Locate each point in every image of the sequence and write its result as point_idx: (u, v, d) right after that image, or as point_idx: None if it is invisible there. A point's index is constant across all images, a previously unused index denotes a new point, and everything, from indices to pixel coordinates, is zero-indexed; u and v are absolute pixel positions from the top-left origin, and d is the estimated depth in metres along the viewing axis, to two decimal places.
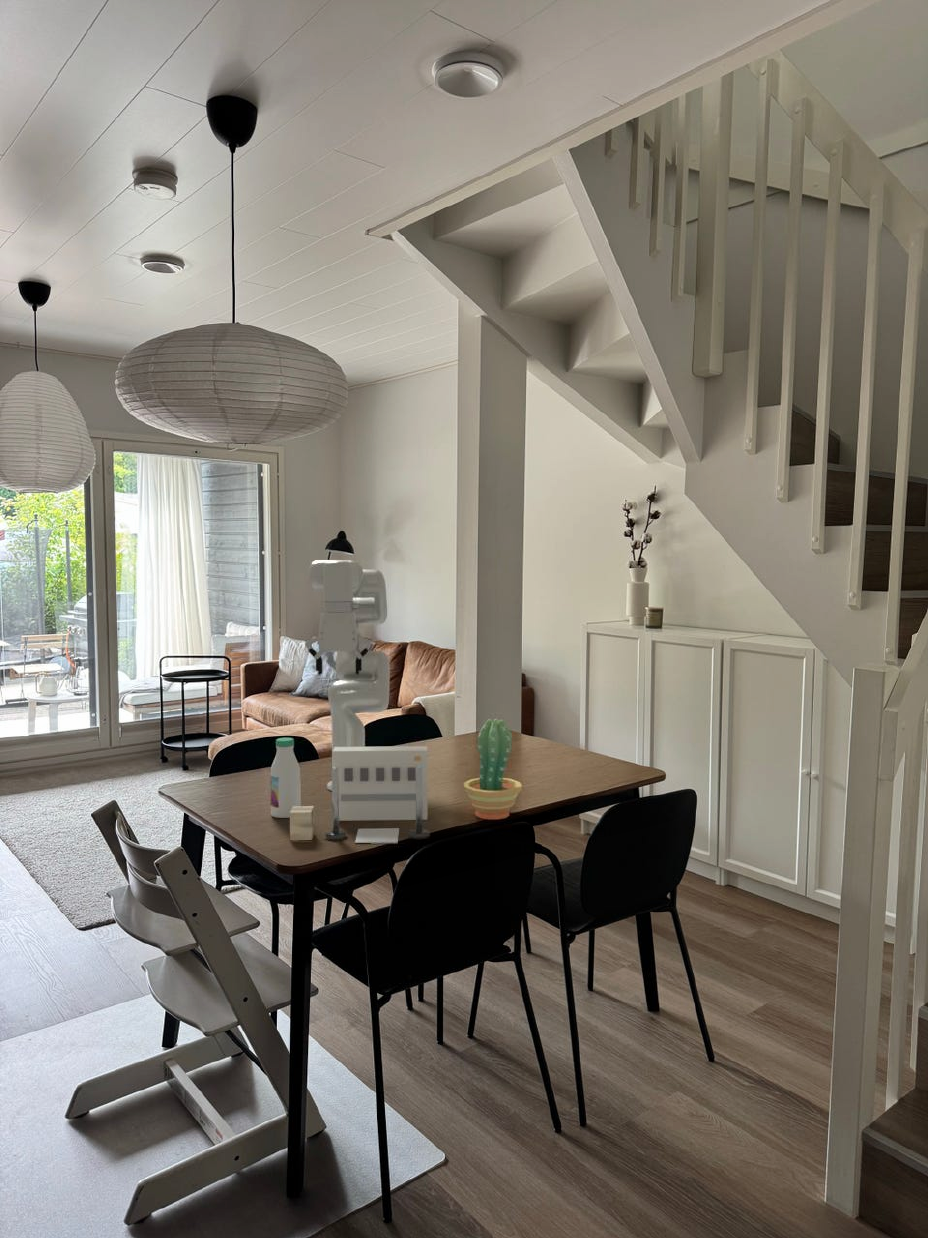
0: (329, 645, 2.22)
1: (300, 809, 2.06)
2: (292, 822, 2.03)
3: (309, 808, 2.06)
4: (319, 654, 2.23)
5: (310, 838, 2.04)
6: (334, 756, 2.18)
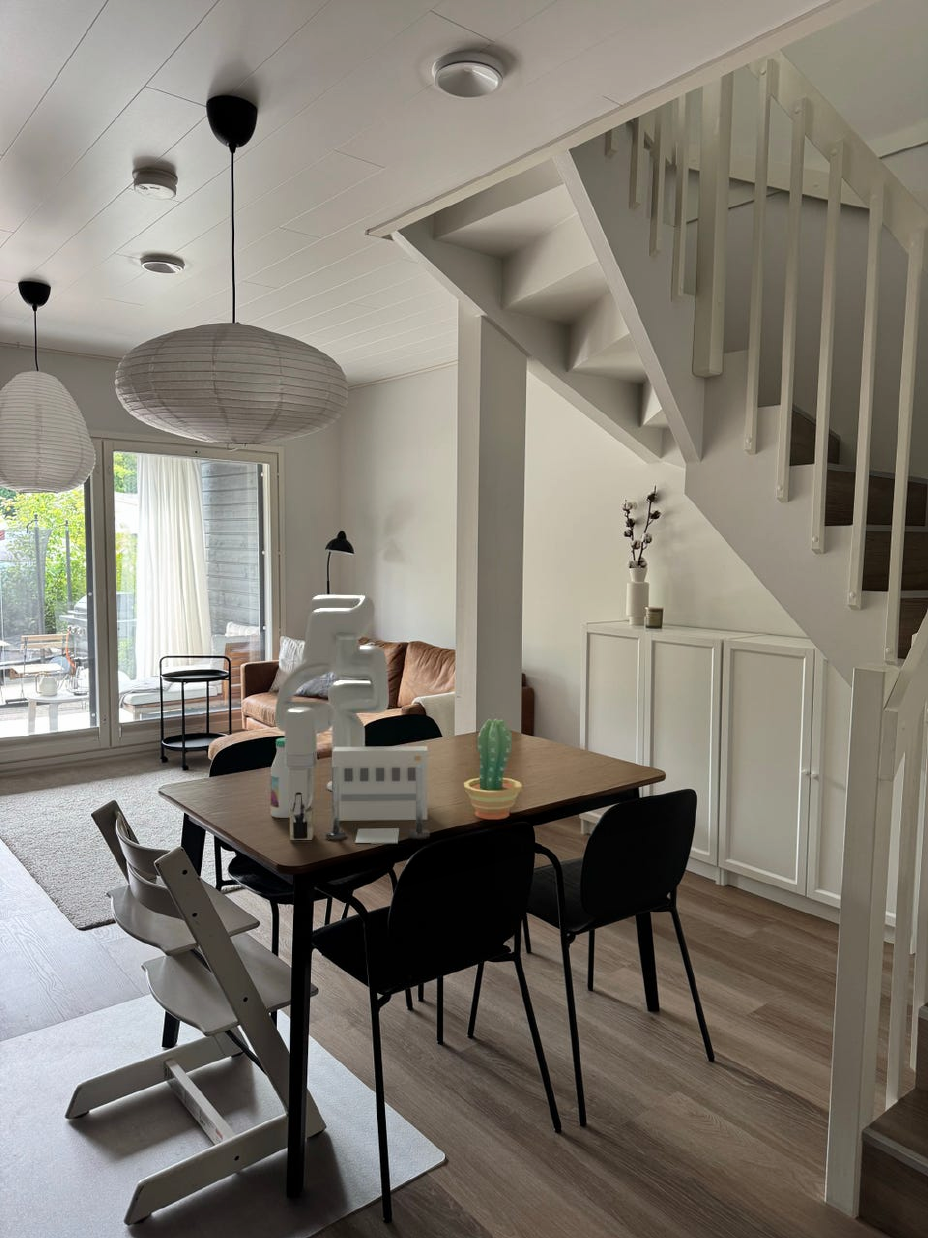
0: (309, 801, 2.04)
1: None
2: (292, 822, 2.03)
3: (309, 808, 2.06)
4: (305, 816, 2.03)
5: (310, 838, 2.04)
6: (334, 756, 2.18)
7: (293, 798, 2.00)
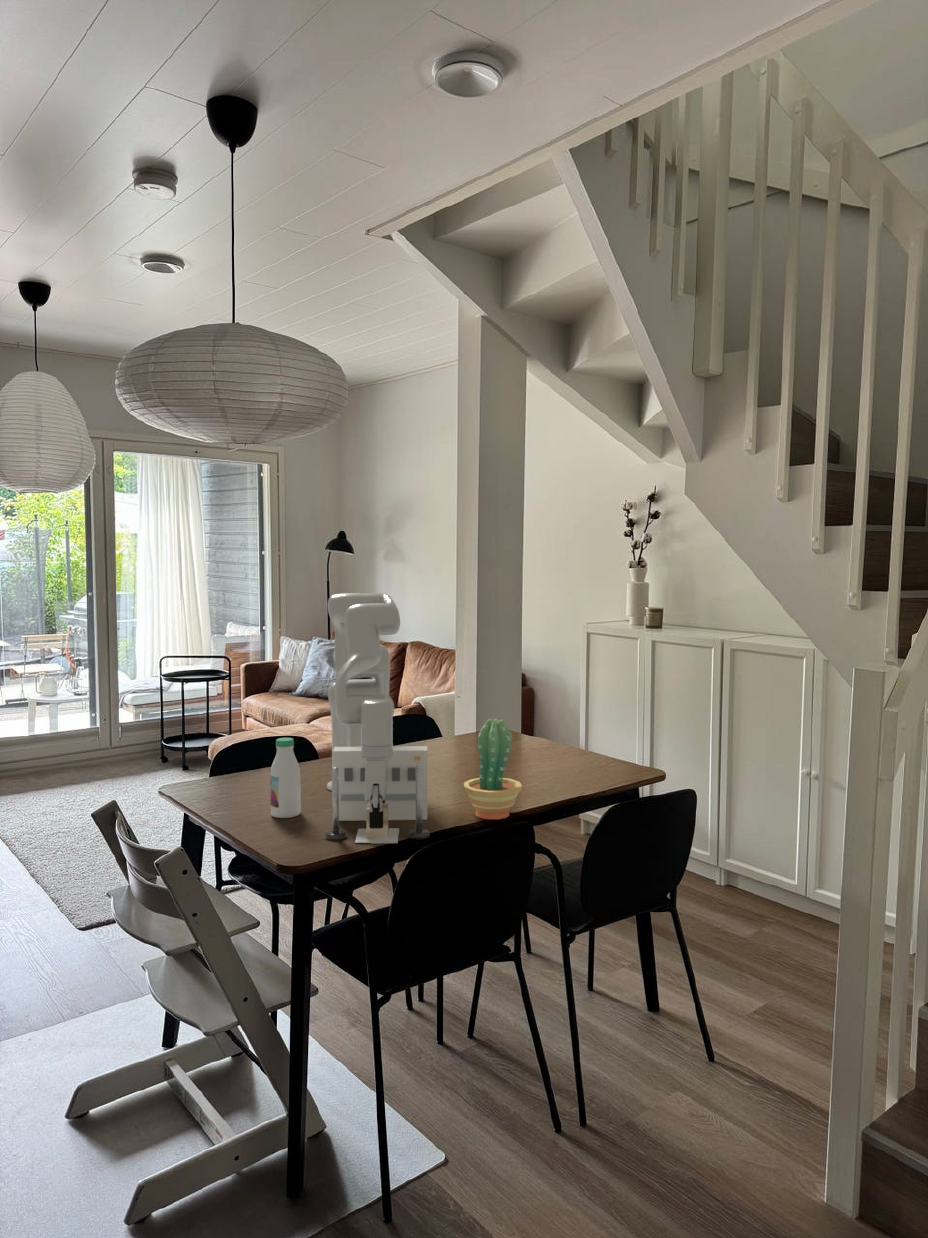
0: None
1: None
2: (368, 819, 2.04)
3: (384, 805, 2.07)
4: (381, 806, 2.02)
5: (386, 835, 2.05)
6: (334, 756, 2.18)
7: (371, 789, 2.01)
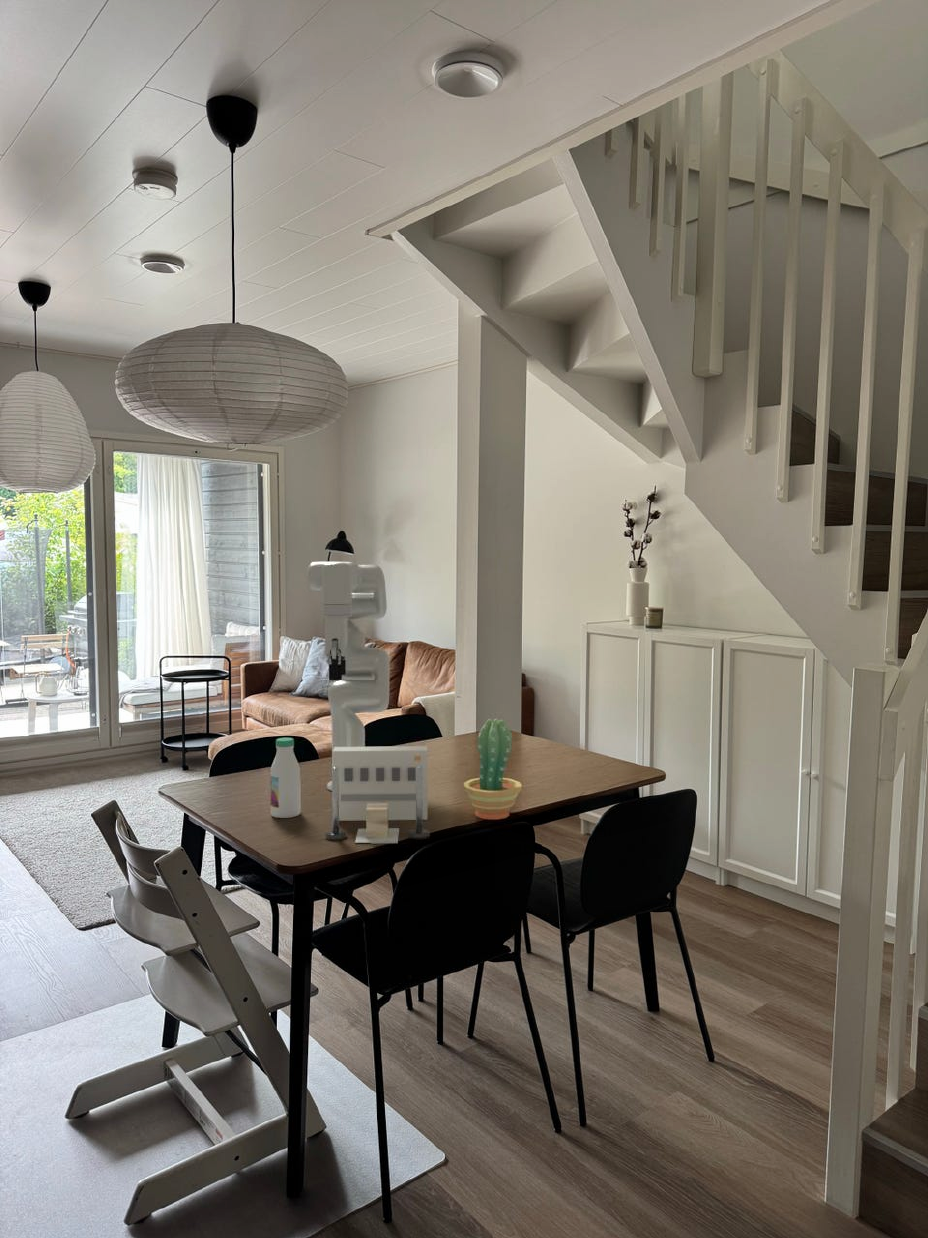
0: (345, 648, 2.18)
1: (375, 806, 2.06)
2: (368, 819, 2.04)
3: (384, 805, 2.07)
4: (340, 659, 2.16)
5: (386, 835, 2.05)
6: (334, 756, 2.18)
7: (330, 643, 2.15)
